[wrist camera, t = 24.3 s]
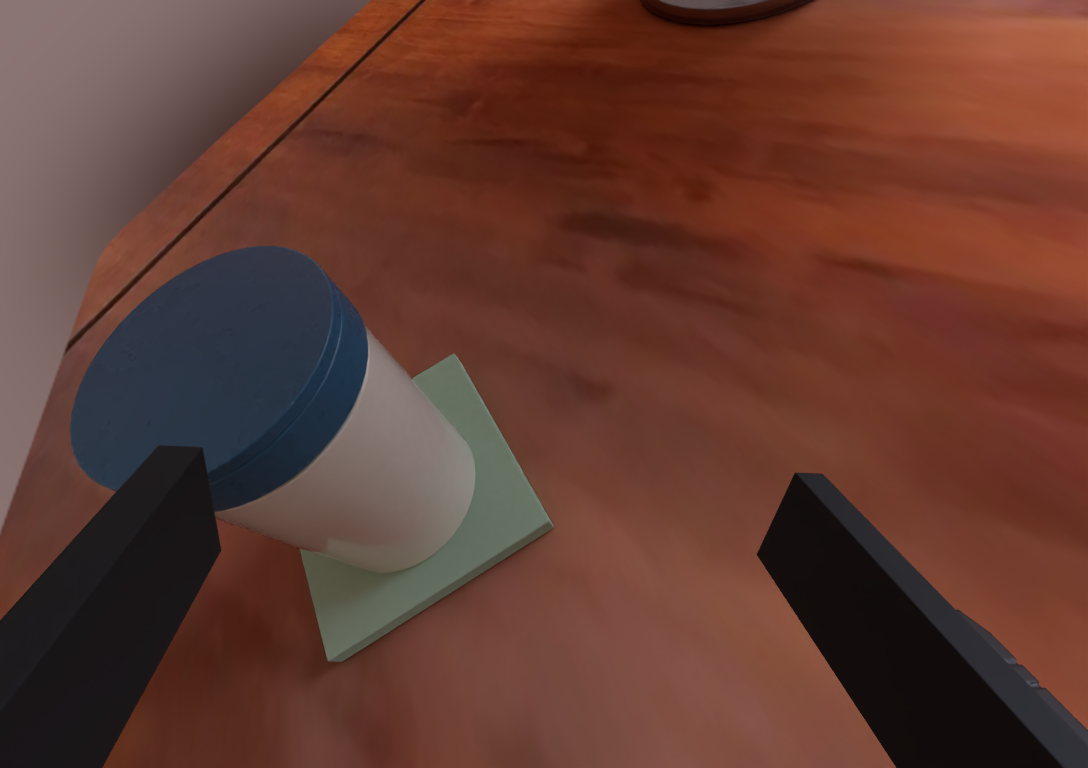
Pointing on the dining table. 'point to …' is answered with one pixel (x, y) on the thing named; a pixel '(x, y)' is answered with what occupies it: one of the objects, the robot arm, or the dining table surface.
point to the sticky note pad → (478, 544)
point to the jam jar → (374, 480)
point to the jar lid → (225, 374)
